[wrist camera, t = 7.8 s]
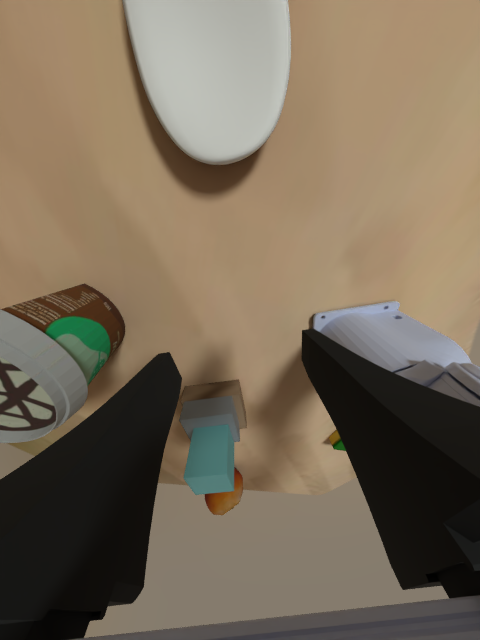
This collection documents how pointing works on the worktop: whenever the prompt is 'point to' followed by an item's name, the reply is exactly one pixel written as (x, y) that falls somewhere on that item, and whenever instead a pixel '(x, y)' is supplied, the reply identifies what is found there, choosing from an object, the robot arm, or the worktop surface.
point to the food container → (52, 358)
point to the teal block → (211, 460)
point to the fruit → (225, 497)
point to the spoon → (213, 71)
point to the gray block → (210, 415)
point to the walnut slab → (216, 391)
